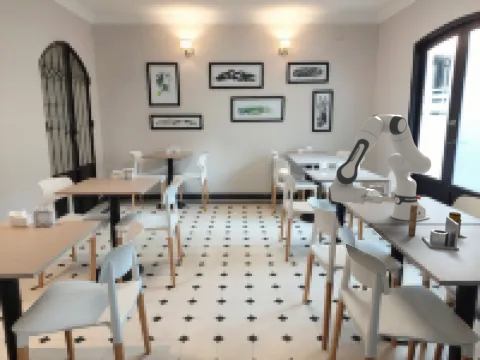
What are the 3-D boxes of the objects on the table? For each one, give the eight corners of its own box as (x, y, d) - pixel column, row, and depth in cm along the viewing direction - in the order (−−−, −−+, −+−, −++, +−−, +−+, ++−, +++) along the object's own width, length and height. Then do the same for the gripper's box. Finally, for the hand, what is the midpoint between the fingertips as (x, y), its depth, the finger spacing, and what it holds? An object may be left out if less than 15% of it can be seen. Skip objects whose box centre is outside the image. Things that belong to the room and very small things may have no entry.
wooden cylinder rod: (411, 234, 186) (414, 204, 183) (416, 236, 183) (419, 205, 180) (406, 235, 185) (409, 204, 182) (411, 236, 182) (414, 206, 179)
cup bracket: (430, 248, 166) (432, 223, 164) (422, 238, 179) (424, 215, 177) (458, 250, 163) (461, 225, 161) (448, 240, 177) (450, 217, 175)
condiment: (442, 233, 188) (444, 211, 186) (458, 233, 188) (461, 211, 186) (450, 237, 181) (452, 214, 179) (467, 238, 181) (469, 215, 179)
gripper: (363, 192, 175) (393, 194, 172) (359, 186, 195) (386, 187, 192) (362, 205, 176) (392, 207, 173) (358, 197, 196) (385, 199, 193)
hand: (389, 196), depth 183 cm, fingers open, 8 cm apart
